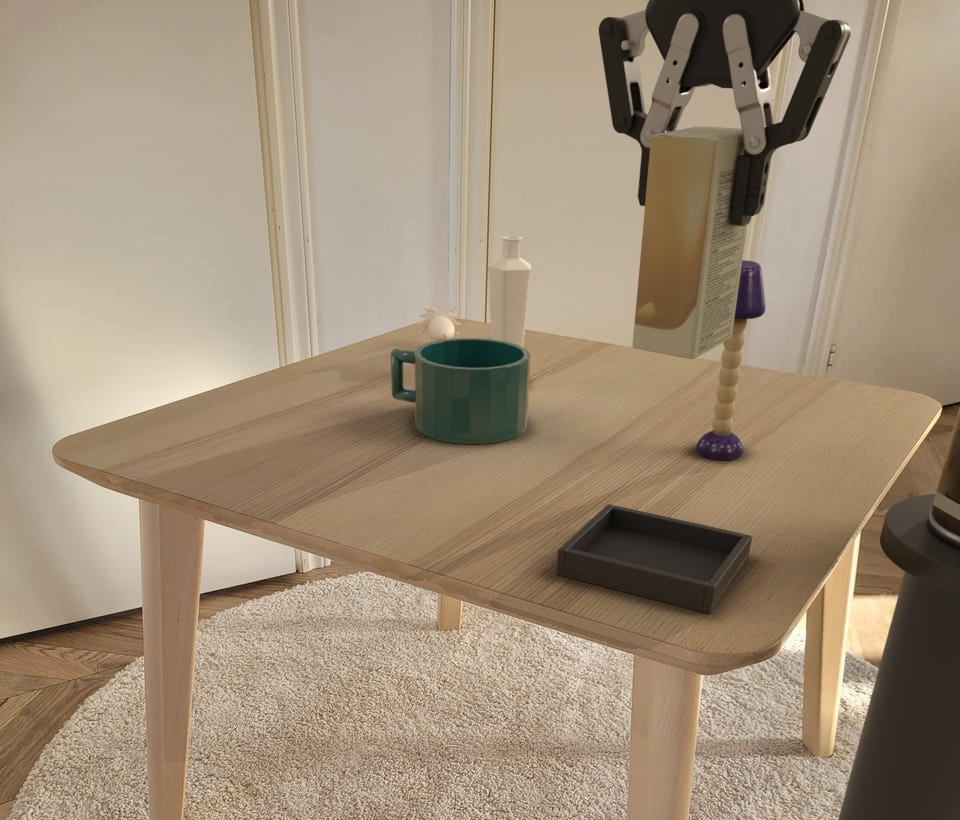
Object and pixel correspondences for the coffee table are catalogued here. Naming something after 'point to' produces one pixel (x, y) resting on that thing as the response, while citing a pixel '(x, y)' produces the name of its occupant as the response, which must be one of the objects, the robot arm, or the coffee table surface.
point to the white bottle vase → (509, 293)
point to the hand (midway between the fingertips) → (698, 218)
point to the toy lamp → (733, 367)
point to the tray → (655, 557)
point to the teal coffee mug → (466, 389)
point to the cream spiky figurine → (439, 323)
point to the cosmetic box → (689, 243)
